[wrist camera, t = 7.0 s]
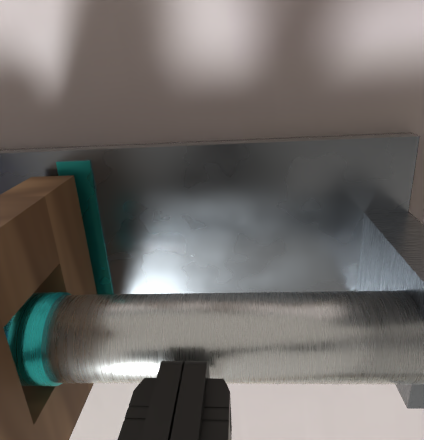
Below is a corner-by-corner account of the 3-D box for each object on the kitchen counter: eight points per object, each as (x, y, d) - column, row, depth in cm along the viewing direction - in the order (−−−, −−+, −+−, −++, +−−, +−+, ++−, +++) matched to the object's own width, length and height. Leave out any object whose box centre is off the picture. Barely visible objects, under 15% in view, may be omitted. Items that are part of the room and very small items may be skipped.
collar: (73, 175, 17) (-107, 303, 8) (107, 351, 21) (10, 573, 12) (31, 176, 18) (-194, 304, 8) (72, 351, 21) (-51, 571, 12)
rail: (411, 132, 17) (548, 188, 10) (381, 345, 22) (458, 496, 14) (-51, 152, 19) (-241, 212, 11) (10, 347, 23) (-97, 483, 16)
